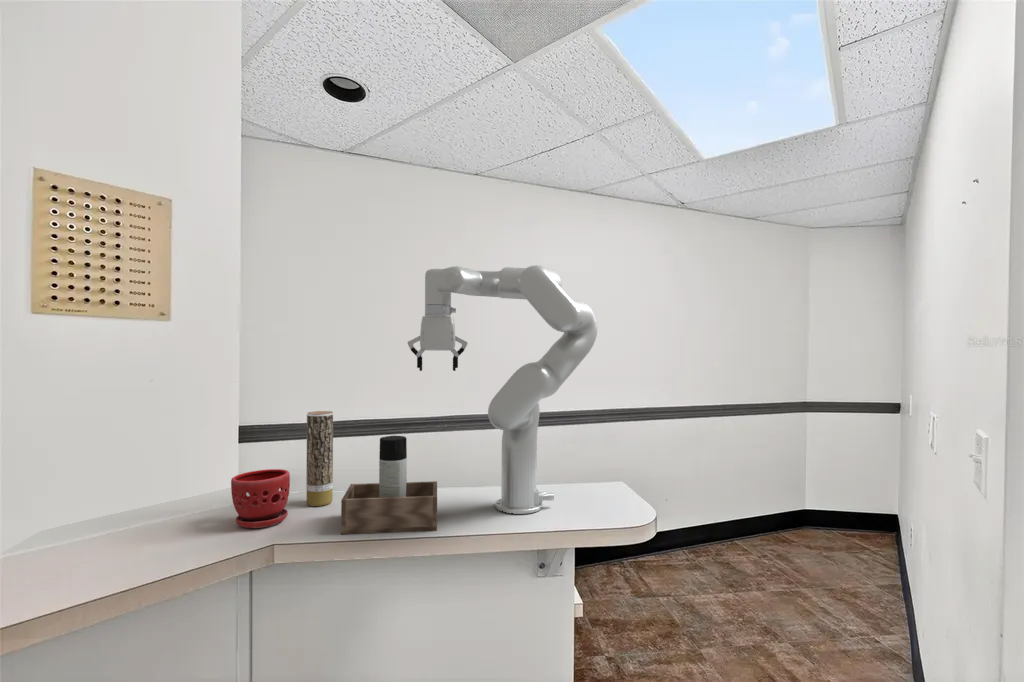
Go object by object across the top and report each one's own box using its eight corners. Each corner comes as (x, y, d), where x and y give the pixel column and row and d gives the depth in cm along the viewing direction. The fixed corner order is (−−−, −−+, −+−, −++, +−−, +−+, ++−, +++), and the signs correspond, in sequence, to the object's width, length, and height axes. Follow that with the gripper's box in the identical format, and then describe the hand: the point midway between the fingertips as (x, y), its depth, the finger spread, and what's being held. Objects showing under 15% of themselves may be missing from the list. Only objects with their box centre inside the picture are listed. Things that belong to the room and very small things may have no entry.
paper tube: (336, 500, 150) (337, 411, 150) (325, 507, 143) (326, 414, 143) (313, 499, 151) (314, 410, 151) (301, 506, 144) (302, 414, 144)
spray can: (412, 517, 133) (412, 437, 133) (389, 524, 127) (390, 441, 127) (395, 512, 137) (396, 434, 137) (373, 518, 132) (373, 437, 132)
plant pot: (293, 512, 139) (293, 466, 139) (284, 529, 127) (284, 479, 127) (238, 515, 136) (239, 469, 136) (224, 534, 124) (224, 482, 124)
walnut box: (436, 511, 141) (437, 481, 141) (436, 530, 127) (437, 496, 127) (350, 514, 137) (350, 483, 137) (341, 534, 124) (341, 500, 124)
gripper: (466, 312, 160) (466, 369, 160) (408, 312, 158) (408, 370, 158) (468, 311, 153) (468, 371, 153) (407, 310, 150) (406, 371, 150)
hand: (437, 370), depth 155 cm, fingers open, 9 cm apart
